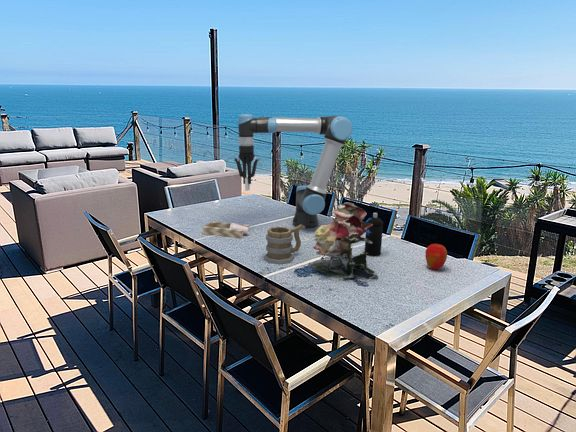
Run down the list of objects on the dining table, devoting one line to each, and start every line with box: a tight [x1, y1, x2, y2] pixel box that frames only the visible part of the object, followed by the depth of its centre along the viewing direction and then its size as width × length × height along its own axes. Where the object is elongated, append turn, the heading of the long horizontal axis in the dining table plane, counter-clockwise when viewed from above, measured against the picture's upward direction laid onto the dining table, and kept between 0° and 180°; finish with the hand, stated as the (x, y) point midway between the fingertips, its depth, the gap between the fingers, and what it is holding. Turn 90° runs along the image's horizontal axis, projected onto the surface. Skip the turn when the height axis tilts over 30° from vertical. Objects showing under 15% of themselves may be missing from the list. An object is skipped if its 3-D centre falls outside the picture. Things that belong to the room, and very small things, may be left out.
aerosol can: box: [364, 212, 384, 257], centre depth 208 cm, size 8×8×20 cm
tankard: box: [264, 224, 306, 265], centre depth 201 cm, size 20×13×15 cm, turn 117°
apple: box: [424, 243, 448, 271], centre depth 191 cm, size 9×9×12 cm
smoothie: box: [230, 222, 251, 235], centre depth 235 cm, size 6×6×14 cm
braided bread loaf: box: [202, 220, 250, 239], centre depth 237 cm, size 22×12×4 cm, turn 75°
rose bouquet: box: [311, 202, 387, 282], centre depth 186 cm, size 26×29×30 cm
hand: (247, 190), depth 231 cm, fingers closed
